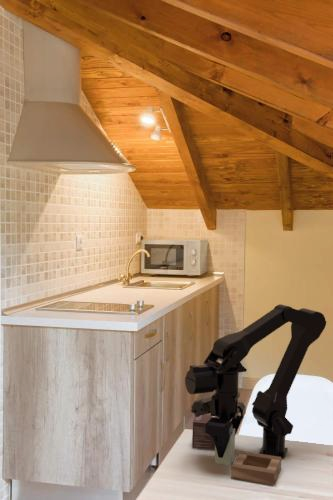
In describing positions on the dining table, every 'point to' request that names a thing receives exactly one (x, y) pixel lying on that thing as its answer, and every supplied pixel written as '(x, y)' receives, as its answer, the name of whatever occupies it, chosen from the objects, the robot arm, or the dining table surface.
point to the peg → (227, 452)
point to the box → (202, 434)
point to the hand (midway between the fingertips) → (224, 451)
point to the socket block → (256, 468)
